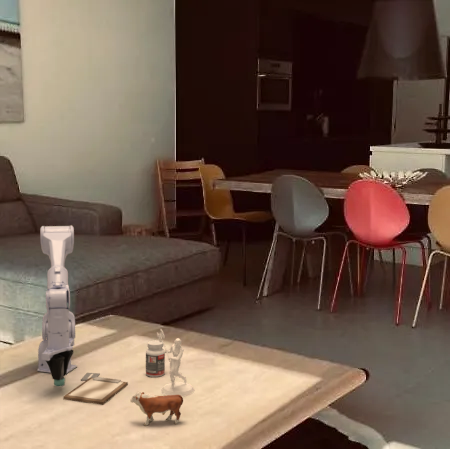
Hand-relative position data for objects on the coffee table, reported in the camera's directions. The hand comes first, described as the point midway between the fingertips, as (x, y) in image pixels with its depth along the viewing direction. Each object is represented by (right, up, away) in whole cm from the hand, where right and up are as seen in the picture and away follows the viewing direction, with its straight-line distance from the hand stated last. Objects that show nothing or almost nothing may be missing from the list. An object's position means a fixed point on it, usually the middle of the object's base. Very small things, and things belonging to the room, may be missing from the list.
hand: (59, 377), depth 212 cm
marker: (0, -2, 0) cm, 2 cm away
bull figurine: (+29, -8, -20) cm, 36 cm away
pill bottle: (+26, -2, +16) cm, 30 cm away
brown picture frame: (+10, -4, 0) cm, 11 cm away
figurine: (+33, -4, +3) cm, 34 cm away
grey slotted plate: (+7, -2, +12) cm, 14 cm away
